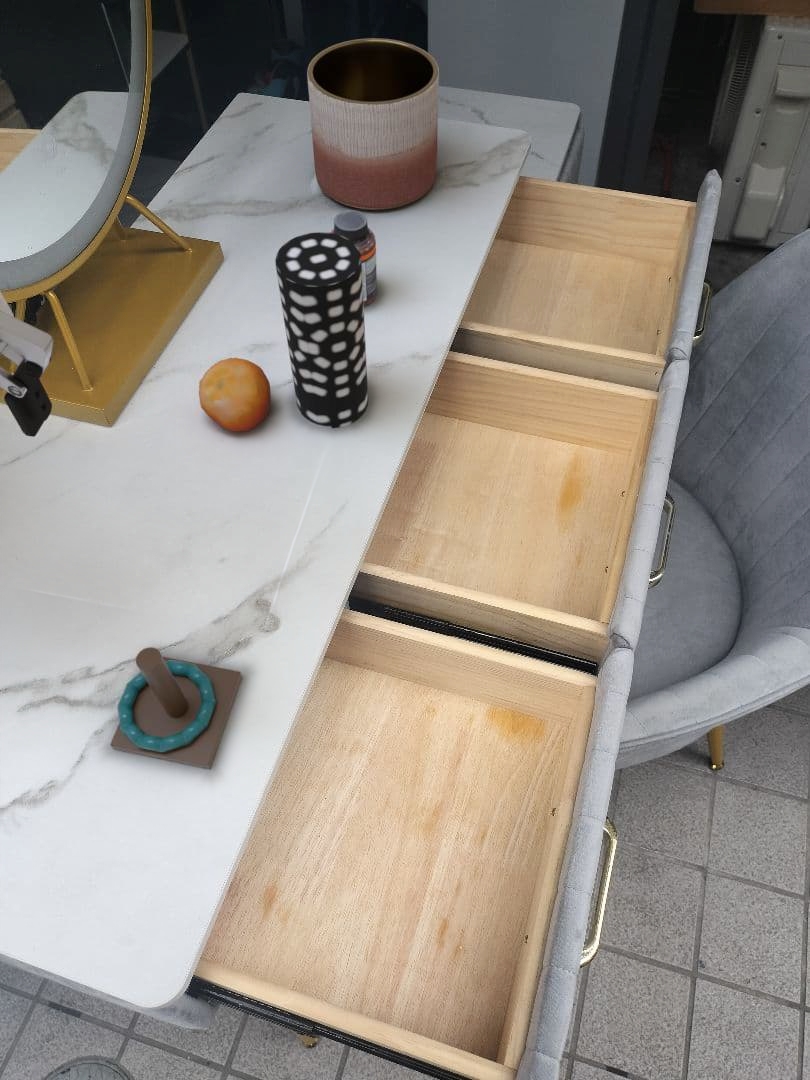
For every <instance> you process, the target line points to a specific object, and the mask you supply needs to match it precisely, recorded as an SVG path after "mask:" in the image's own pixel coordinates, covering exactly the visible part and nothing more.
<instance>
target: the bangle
mask: <svg viewBox="0 0 810 1080" xmlns="http://www.w3.org/2000/svg"><path fill="white" fill-rule="evenodd" d="M165 662H166V664H167V666H168V668H169V669H170V671H171V673H172V674H177V675H182V676H188V677H189V678H190V679H191V680H192V681H193V682H194V683H195V684H196V685H197V686H198V687H199V691H200V696H201V700H202V703H201V706H200V709H199V711H198V714H197V717H196V719H195V720H194V721H193V722H192V723H191V724H190V725H189V726H187V727H186V728H185V729H184V730H183V731H182V732H180V733H177V734H174V735H170V736H167V737H164V738H161V737H156V736H151V735H146V734H145V733H144V732H143V731H142V730H141V729H140V728H139V727H138V726H137V725H136V724H135V723H134V717H133V711H132V706H133V704H134V701H135V699H136V696H137V694H138V692H139V690H141V689H142V688H143V687H144V686H145V685H146V684H147V683H148V682H147V681H146V679H145V678H144V676H143V674H142V673H141V671H140V672H139V673H137V674H136V675H135V676H134V677H133V678H132V679H131V680H129V681H128V682H127V683H126V685H125V687H124V690H123V692H122V694H121V696H120V699H119V701H118V704H117V707H116V708H117V714H118V720H119V721H118V722H119V723H120V728H121V731H122V732H123V733H124V734H125V735H126V736H127V737H128V738H129V739H130V740H131V741H132V742H133V743H134V744H135V745H136V746H137V747H138V748H143V749H147V750H152V751H157V752H166V751H169V750H172V749H176V748H179V747H182V746H185V745H188V744H189V743H190V742H192V741H193V740H194V739H195V738H196V737H197V736H198V735H199V734H200V733H201V732H202V731H203V730H204V729H205V728H206V727H207V726H208V724H209V721H210V719H211V716H212V713H213V710H214V707H215V704H216V699H215V695H214V690H213V686H212V681H211V679H210V678H209V677H208V676H207V675H206V674H205V673H203V672H202V671H201V670H200V669H199V668H198V667H197V666H196V665H194V664H191V663H186V662H180V661H175V660H168V661H165Z"/></svg>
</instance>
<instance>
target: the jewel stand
mask: <svg viewBox="0 0 810 1080" xmlns="http://www.w3.org/2000/svg"><path fill="white" fill-rule="evenodd" d="M135 657H136V658H135V663H136V666H137V668H138V669H139V671H140V672H141V673H142V674H143V676H144V678H145V679H146V681H147V682H148V683H147V684H146V685H145V686H144V687H143V688H142V689H141V690H139V692H138V694H137V696H136V699H135V701H134V704H133V706H132V711H133V717H134V723H135V724H136V725H137V726H138V727H139V728H140V729H141V730H142V731H143V732H144V733H145V734H146V735H151V736H156V737H161V738H164V737H167V736H170V735H174V734H177V733H180V732H182V731H183V730H184V729H185V728H186V727H187V726H189V725H190V724H191V723H192V722H193V721H194V720H195V719H196V717H197V714H198V711H199V709H200V706H201V703H202V700H201V696H200V691H199V687H198V686H197V685H196V684H195V683H194V682H193V681H192V680H191V679H190V678H189V677H188V676H182V675H177V674H172V673H171V671H170V669H169V668H168V666H167V664H166V662H165V661H168V660H175V661H180V662H186V663H191V664H194V665H196V666H197V667H198V668H199V669H200V670H201V671H202V672H203V673H205V674H206V675H207V676H208V677H209V678H210V679H211V681H212V686H213V690H214V695H215V699H216V704H215V707H214V710H213V713H212V716H211V719H210V721H209V724H208V726H207V727H206V728H205V729H204V730H203V731H202V732H201V733H200V734H199V735H198V736H197V737H196V738H195V739H194V740H193V741H192V742H190V743H189V744H188V745H185V746H182V747H179V748H176V749H172V750H169V751H166V752H157V751H152V750H147V749H143V748H138V747H137V746H136V745H135V744H134V743H133V742H132V741H131V740H130V739H129V738H128V737H127V736H126V735H125V734H124V733H123V732H122V731H121V728H120V722H119V723H118V725H117V728H116V730H115V733H114V735H113V737H112V739H111V741H110V747H111V748H112V749H113V750H116V751H121V752H125V753H131V754H136V755H140V756H145V757H149V758H154V759H158V760H164V761H167V762H172V763H173V762H174V763H178V764H183V765H188V766H191V767H192V766H193V767H197V768H200V769H201V768H202V769H207V770H211V769H212V765H213V762H214V760H215V756H216V754H217V751H218V748H219V745H220V743H221V739H222V736H223V734H224V731H225V727H226V724H227V722H228V719H229V716H230V713H231V710H232V708H233V705H234V701H235V698H236V696H237V692H238V690H239V687H240V684H241V681H242V678H243V675H242V673H241V671H238V670H232V669H228V668H224V667H223V668H222V667H217V666H213V665H207V664H203V663H198V662H197V663H196V662H192V661H187V660H182V659H176V658H171V657H167V656H163V655H162V653H161V651H160V650H159V649H157V648H156V647H145V648H143V649H142V650H140V651H139V652H138V653H137V655H136V656H135Z"/></svg>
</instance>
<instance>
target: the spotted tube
mask: <svg viewBox="0 0 810 1080" xmlns="http://www.w3.org/2000/svg"><path fill="white" fill-rule="evenodd" d="M274 259H275V260H274V261H275V269H276V275H277V283H278V291H279V295H280V302H281V309H282V316H283V322H284V328H285V335H286V341H287V347H288V354H289V362H290V367H291V373H292V374H291V375H292V381H293V385H294V386H293V387H294V388H293V389H294V393H295V401H296V406H297V409H298V412H299V413H300V414H301V416H303V417H304V418H305V419H306V420H307V421H309V422H310V423H313V424H315V425H317V426H323V427H331V429H338V428H343V427H346V426H349V425H351V424H354V423H355V422H357V421H358V420H359V419H360V418H362V417H363V415H364V414H365V412H366V411H367V409H368V406H369V389H368V388H369V387H368V368H367V347H366V327H365V325H366V324H365V307H364V305H363V284H362V264H361V253H360V251H359V249H358V247H357V246H356V245H355V244H354V243H353V242H352V241H350V240H349V239H347V238H345V237H343V236H340V235H337V234H333V233H330V232H322V231H320V232H319V231H317V232H310V233H309V232H308V233H304V234H300V235H297V236H295V237H293V238H291V239H289V240H288V241H287V242H285V243H283V244H282V246H281V247H280V248H279V249H278V251H277V253H276V255H275V258H274Z"/></svg>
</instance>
